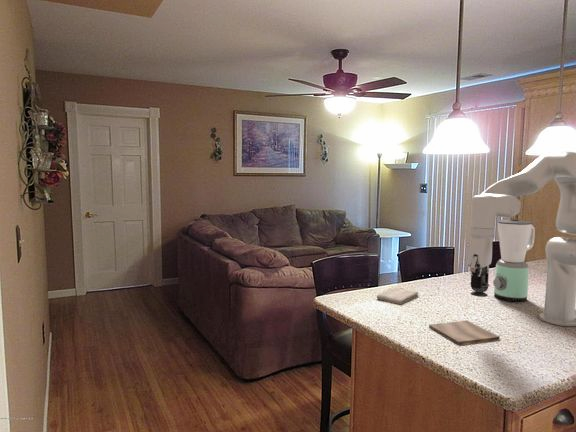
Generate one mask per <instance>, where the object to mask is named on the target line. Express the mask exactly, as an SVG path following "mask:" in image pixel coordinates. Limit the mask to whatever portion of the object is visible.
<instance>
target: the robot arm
mask: <svg viewBox="0 0 576 432" xmlns="http://www.w3.org/2000/svg"><path fill="white" fill-rule="evenodd" d="M553 179H554V181H555V183H556V185H557V186H558V189H559V193H560V199H559V204H558V209H557V214H556V219H555V228H556V229H557V231H558V232H560V233H563V234H568V235H574V236H576V152H574V151H559V152H556V151H555V152H546V153H543V154H542V155H540V156H539V157H537V158H536V159H535V160H534V161H532V162H531V163H530V164H529V165H527V166H526V167H525V168H524V169H523V170H521V171H520V172H519V173H516V174H514V175H511V176H509V177H507V178H505V179H501V180H499V181H497V182H494V183H493V184H492V185H490V186H489V187H488V188H486V189H485V190H483V192H482V193H481V194H477V195H474V196H472V198H471V207H470V212H471V213H470V225H469V226H470V227H469V238H470V239H469V240H470V241H469V245H468V252H467V253H468V254H467V266H468V267H469V268H470V283H471V284H470V288H471V289H472V288H478V289H481V283H482V277H480V276H481V271H482V268H484V267H485V273H486V274H485V282H486V283H487V284H489V274H490V273H489V272H490V265H491V264H492V260H493V239H495V238H496V237H495V236H496V222H497V221H496V220H497V217H498V218H512V217H515V216H517V215H518V214H519V213H520V211H521V209H522V203H521V201H520V199H519V197H523V196H528V195H531V194H535V193H537V192H539V191H540V190H541V189H542V188H543V187H544V186H545V185H547V184H548V183H549V182H550V181H552V180H553ZM545 256H546V268H547V269H546V282H545V296H544V297H545V298H544V311H543V312H541V313H539V315H538V317H539V319H540V320H541V321H543V322H545V323H548V324H552V325H554V326H555V325H556V326H560V327H575V326H576V268H575V267H576V238H573V237H566V236H554V237H552V238H550V239H549V240H548V241H547V242H546V244H545ZM476 265H479V267H476ZM477 269H479V272H478V270H477Z"/></svg>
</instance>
